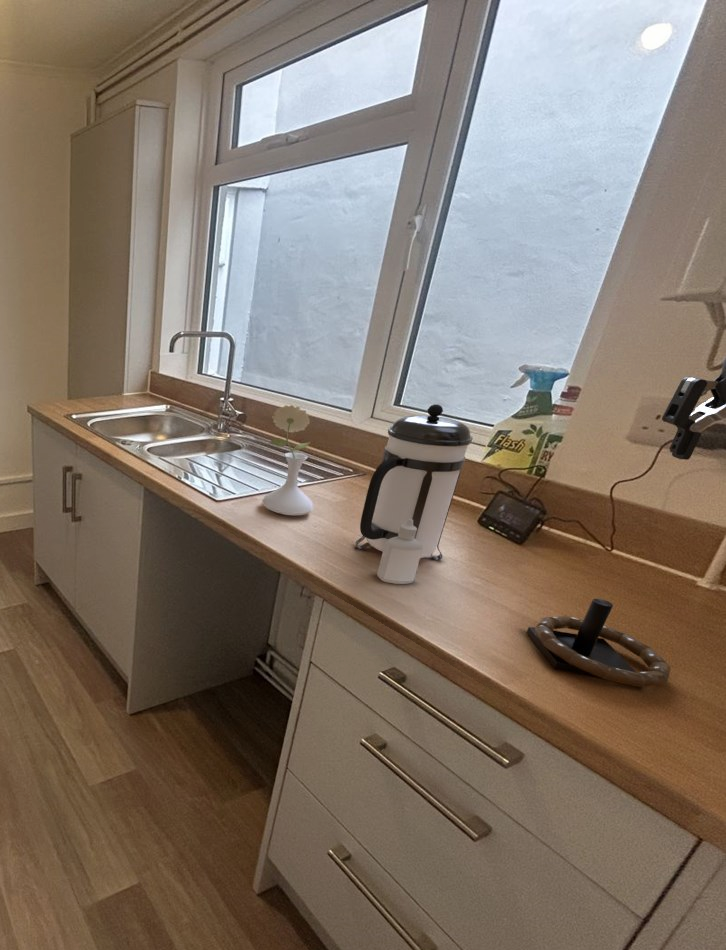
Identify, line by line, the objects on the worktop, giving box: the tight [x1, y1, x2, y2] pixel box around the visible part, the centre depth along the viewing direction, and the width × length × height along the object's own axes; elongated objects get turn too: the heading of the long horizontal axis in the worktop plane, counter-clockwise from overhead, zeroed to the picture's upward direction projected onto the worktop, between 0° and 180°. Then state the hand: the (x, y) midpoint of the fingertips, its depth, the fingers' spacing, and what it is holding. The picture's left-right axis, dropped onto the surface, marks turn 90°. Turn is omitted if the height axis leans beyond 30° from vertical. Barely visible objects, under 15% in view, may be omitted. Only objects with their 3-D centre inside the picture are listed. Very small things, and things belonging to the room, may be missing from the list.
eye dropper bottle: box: [376, 519, 423, 585], centre depth 94 cm, size 4×6×12 cm
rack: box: [526, 598, 636, 679], centre depth 74 cm, size 9×9×9 cm
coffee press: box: [355, 403, 473, 561], centre depth 99 cm, size 17×16×30 cm
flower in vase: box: [262, 404, 315, 516], centre depth 122 cm, size 13×11×25 cm
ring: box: [534, 615, 672, 688], centre depth 74 cm, size 14×14×2 cm
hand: (723, 461), depth 68 cm, fingers open, 8 cm apart
